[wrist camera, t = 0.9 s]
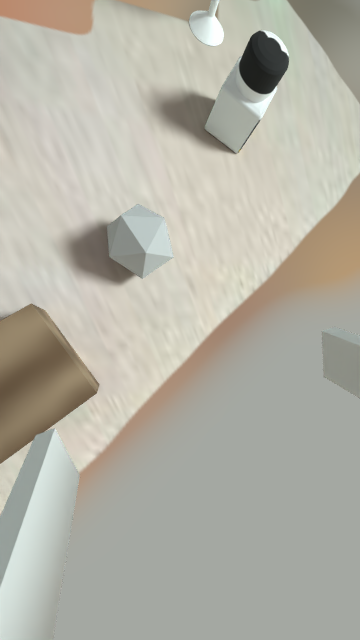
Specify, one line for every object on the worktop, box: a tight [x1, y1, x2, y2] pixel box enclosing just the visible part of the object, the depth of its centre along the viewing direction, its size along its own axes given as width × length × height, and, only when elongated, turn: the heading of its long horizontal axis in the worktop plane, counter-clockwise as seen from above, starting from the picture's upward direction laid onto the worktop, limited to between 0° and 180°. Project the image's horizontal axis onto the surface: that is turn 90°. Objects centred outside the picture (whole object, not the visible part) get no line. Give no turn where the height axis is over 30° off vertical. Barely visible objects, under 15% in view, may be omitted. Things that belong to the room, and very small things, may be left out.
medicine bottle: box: [205, 30, 289, 153], centre depth 36 cm, size 7×7×12 cm
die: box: [107, 204, 173, 279], centre depth 31 cm, size 8×9×10 cm
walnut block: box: [0, 304, 99, 464], centre depth 27 cm, size 12×12×6 cm
